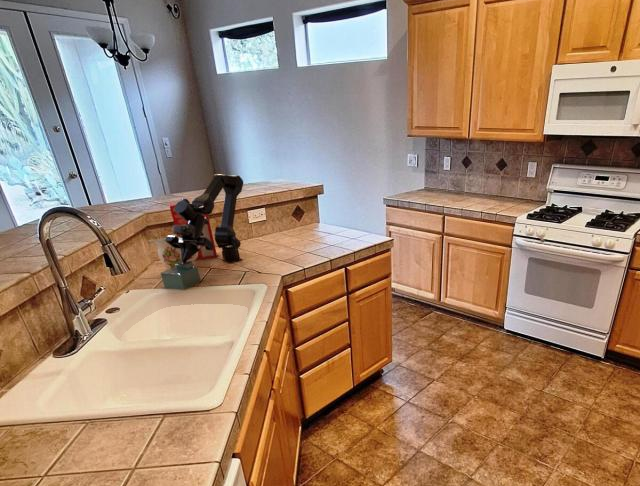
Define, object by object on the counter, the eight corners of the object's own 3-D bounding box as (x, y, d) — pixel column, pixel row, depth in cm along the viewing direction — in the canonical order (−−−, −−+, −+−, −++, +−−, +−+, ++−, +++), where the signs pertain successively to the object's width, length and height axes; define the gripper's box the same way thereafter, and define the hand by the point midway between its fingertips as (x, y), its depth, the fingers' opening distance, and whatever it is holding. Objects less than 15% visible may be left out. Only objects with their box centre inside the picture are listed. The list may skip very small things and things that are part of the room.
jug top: (184, 278, 178) (179, 259, 174) (203, 280, 176) (198, 261, 172) (164, 288, 168) (159, 268, 164) (184, 289, 166) (179, 270, 162)
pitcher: (201, 269, 188) (193, 238, 181) (155, 275, 182) (146, 243, 175) (201, 263, 197) (194, 233, 190) (158, 268, 191) (149, 237, 184)
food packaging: (216, 254, 210) (204, 201, 198) (217, 256, 206) (205, 202, 194) (183, 258, 204) (169, 204, 193) (183, 261, 200) (169, 206, 189)
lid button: (183, 265, 173) (182, 260, 172) (191, 265, 172) (190, 261, 171) (177, 267, 170) (176, 263, 169) (185, 268, 169) (184, 264, 168)
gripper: (161, 215, 169) (148, 250, 165) (202, 216, 165) (190, 252, 160) (180, 230, 179) (168, 264, 175) (219, 232, 175) (208, 266, 171)
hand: (183, 261), depth 170 cm, fingers closed, pressing on lid button
